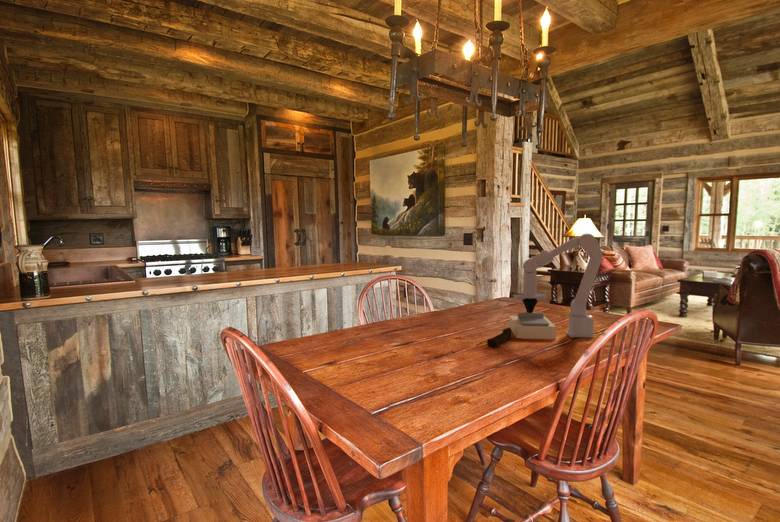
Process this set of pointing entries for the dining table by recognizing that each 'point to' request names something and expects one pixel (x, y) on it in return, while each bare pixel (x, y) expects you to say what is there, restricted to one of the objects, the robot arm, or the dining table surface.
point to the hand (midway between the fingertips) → (529, 314)
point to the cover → (532, 319)
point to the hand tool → (499, 338)
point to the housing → (532, 330)
